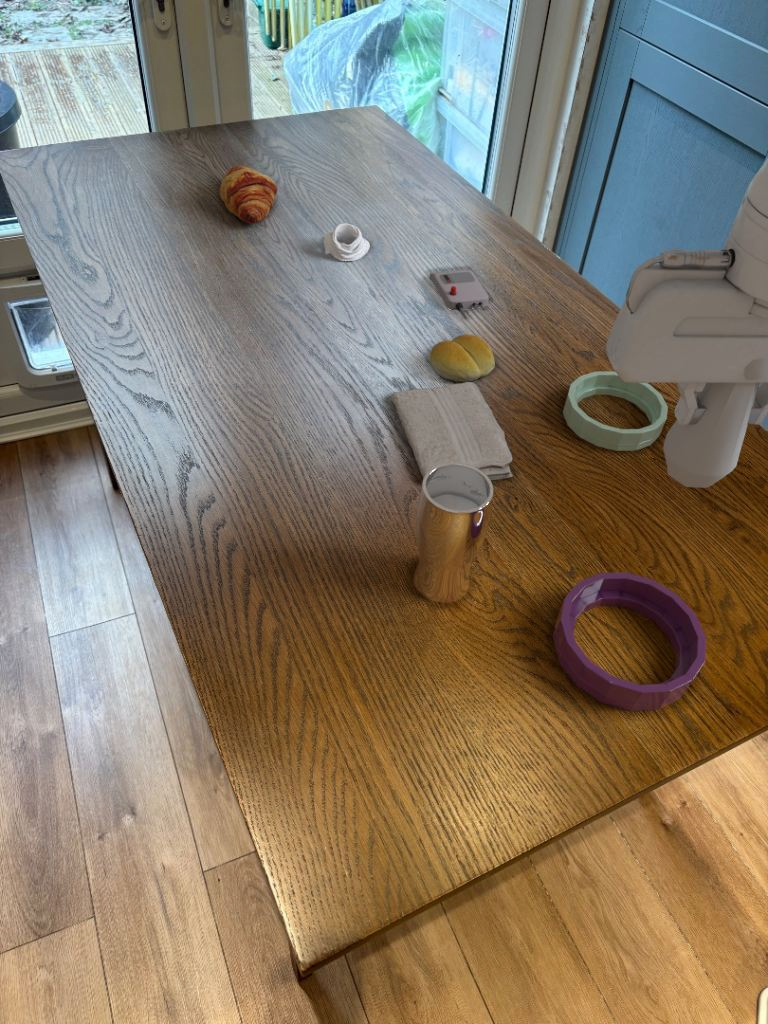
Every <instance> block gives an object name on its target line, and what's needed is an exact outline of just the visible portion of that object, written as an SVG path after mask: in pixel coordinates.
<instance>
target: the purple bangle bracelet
mask: <svg viewBox="0 0 768 1024" xmlns="http://www.w3.org/2000/svg"><path fill="white" fill-rule="evenodd" d="M611 606H613V607H615V606H617V607H618V606H619V607H622V608H626V609H629V610H632V611H636V612H638V613H640V614H641V615H643V616H645V617H647V618H648V619H649V620H651V621H653V622H655V624H656V625H658V627H659V628H660V630H662V632H663V633H664V634H665V635H666V636H667V637H668V639H669V641H670V644H671V646H672V649H673V651H674V654H675V663H674V672H673V673H672V675H671V676H670V678H669V679H666V680H665V681H662V682H661V683H651V684H649V683H648V684H639V683H635V682H632V681H629V680H625V679H622V678H619V677H616V676H613V675H612V674H610V673H608V672H607V671H606V670H604V669H603V668H601V667H600V666H598V665H597V664H596V663H594V662H593V661H591V660H590V659H589V657H588V656H587V655H586V653H585V652H584V651H583V650H582V648H581V647H580V646H579V644H578V643H577V642H576V639H575V634H574V631H575V626H576V622H577V621H578V620H579V619H580V617H581V616H582V615H583V614H584V613H586V612H589V611H591V610H593V609H596V608H598V607H611ZM554 625H555V627H554V630H553V636H552V641H553V645H554V648H555V652H556V655H557V660H558V662H559V665H561V667H562V669H563V670H564V671H565V673H566V674H567V675H568V677H569V678H570V680H572V681H573V683H574V684H575V685H576V686H577V687H579V688H580V690H582V691H584V692H585V693H587V694H589V695H590V696H591V697H592V698H594V699H596V700H597V701H598V702H600V703H603V704H605V705H609V706H612V707H616V708H618V709H622V710H625V711H629V712H640V711H643V712H644V711H658V710H661V709H663V708H665V707H667V706H669V705H671V704H673V703H675V702H677V701H679V700H680V699H682V697H683V695H684V694H685V692H686V691H687V690H688V688H689V687H690V685H691V684H692V683H693V682H694V680H695V678H696V676H697V675H698V674H699V672H700V670H701V668H702V667H703V666H704V664H705V663H706V651H707V650H706V649H707V637H706V634H705V632H704V630H703V627H702V625H701V623H700V620H699V618H698V616H697V614H696V613H695V612H694V611H693V610H692V609H691V607H690V606H689V605H688V604H687V603H686V602H685V601H684V599H682V597H680V596H679V595H678V594H677V593H676V592H674V591H672V590H671V589H669V588H667V587H666V586H664V585H663V584H661V583H659V582H657V581H655V580H654V579H652V578H649V577H643V576H641V575H637V574H633V573H630V572H626V571H622V572H621V571H619V572H599V573H597V574H595V575H592V576H589V577H587V578H585V579H581V580H580V581H578V582H577V583H576V584H575V585H574V587H572V589H571V590H570V591H569V592H568V593H567V594H566V596H564V598H563V601H562V604H561V607H560V609H559V611H558V615H557V617H556V621H555V624H554Z"/></svg>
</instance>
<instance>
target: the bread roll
mask: <svg viewBox="0 0 768 1024" xmlns="http://www.w3.org/2000/svg"><path fill="white" fill-rule="evenodd" d="M429 364H430V367H431V369H432V371H433V372H434V373H435V374H437V375H438V376H440V377H441V378H444V379H446V380H450V381H453V382H456V383H457V382H458V383H465V382H474V381H477V380H478V379H479V378H485V377H486V376H488V375H489V374H490V373H492V371H493V370H494V369H495V366H496V365H495V355H494V352H493V350H492V349H491V347H490V345H489V344H488V343H487V342H486V341H485V340H484V339H482V338H481V337H479V336H478V335H474V334H461V335H459V336H456V337H455V338H453V339H452V340H443V341H439V342H437V343H436V344H435V345H434V346H433V347H432V349H431V350H430V353H429Z"/></svg>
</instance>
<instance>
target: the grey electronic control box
mask: <svg viewBox="0 0 768 1024" xmlns="http://www.w3.org/2000/svg"><path fill="white" fill-rule="evenodd" d="M430 279H431V280H432V281H431V280H430ZM429 280H430V281H431V283H432V282H433V283H432V285H433V286H434V285H435V286H434V288H435V287H436V288H435V290H436V291H437V290H438V291H437V293H438V292H439V293H438V294H440V295H439V297H440V298H441V297H442V298H441V300H442V299H443V300H442V301H443V303H444V302H445V303H444V305H445V304H446V305H445V306H446V308H447V307H448V308H449V309H451V310H450V311H452V310H458V312H459V313H460V314H461V316H463V317H464V319H465V320H468V317H467V315H466V312H465V310H463V309H472V308H476V309H475V310H478V309H477V308H479V307H482V308H481V309H482V310H483V311H484V310H486V309H485V307H484V306H486V307H488V306H489V301H490V300H489V299H490V296H489V294H488V293H487V292H486V290H485V289H484V287H483V285H482V284H481V283H480V281H479V280H478V278H477V276H476V275H475V274H474V272H473V271H472V270H471V269H458V270H457V269H455V270H446V271H445V270H444V271H437V272H435V271H434V272H430V273H429ZM487 305H488V306H487ZM448 308H447V309H448ZM449 309H448V310H449ZM479 309H480V308H479ZM472 310H473V309H472Z"/></svg>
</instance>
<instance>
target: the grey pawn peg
mask: <svg viewBox="0 0 768 1024" xmlns="http://www.w3.org/2000/svg"><path fill="white" fill-rule="evenodd" d="M744 376H745V379H748V380H759V379H764V378H765V377H767V376H768V359H767V358H760V359H755V360H753V361H752V362H750V363H749V364H748V365H747V366H746V367H745V368H744ZM759 387H760V383H706V385H705V387H704V389H703V391H701V392H696V391H695V392H694V394H698V398H699V400H700V404H701V405H703V406H704V407H706V408H707V410H706V412H705V413H704V415H703V416H702V417H701V419H700V420H699V421H698V423H697V424H694V425H680V424H679V422H678V420H677V419H676V420H675V422H674V423H673V425H672V426H671V427H670V428H669V430H668V431H667V433H666V436H665V438H664V442H663V446H662V449H663V455H664V459H665V464H666V469H667V472H666V473H667V475H668V476H669V477H671V478H672V479H673V480H675V481H677V482H678V483H679V484H681V485H682V486H683V487H685V488H705V489H707V488H710V487H711V486H713V485H714V484H716V483H717V482H719V481H720V480H722V479H724V478H725V477H726V476H727V475H729V474H730V473H731V472H733V471H734V470H735V468H736V467H738V466H737V465H738V461H739V458H740V453H741V450H742V447H743V443H744V439H745V436H746V432H747V429H748V425H749V424H747V423H748V419H749V415H750V411H751V408H752V407H753V404H754V401H755V397H756V394H757V390H758V388H759Z"/></svg>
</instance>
